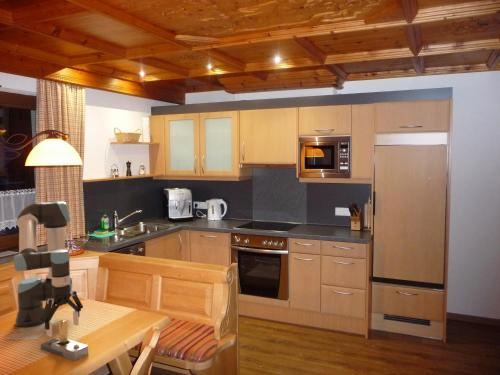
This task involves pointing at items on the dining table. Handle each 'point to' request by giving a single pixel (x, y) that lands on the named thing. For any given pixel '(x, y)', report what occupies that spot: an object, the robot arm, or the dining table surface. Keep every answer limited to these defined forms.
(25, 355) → the dining table surface
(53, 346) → the riveted square sleeve
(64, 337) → the brass pin
